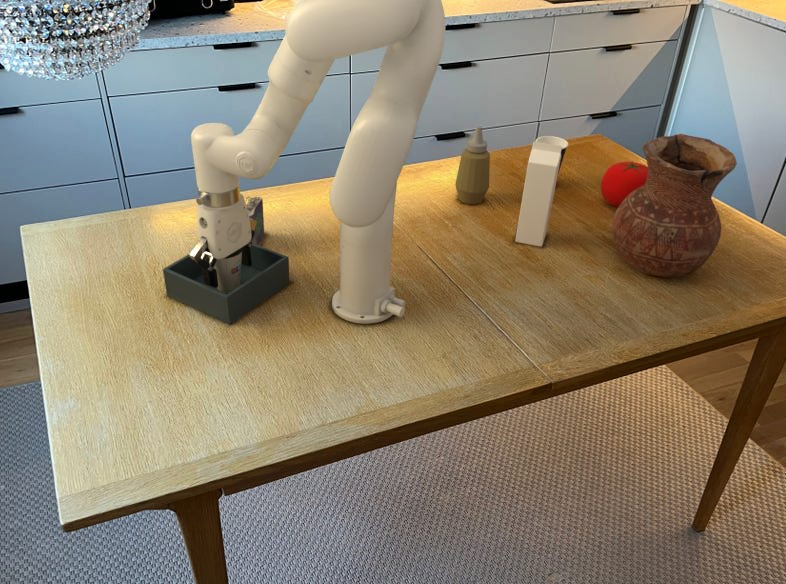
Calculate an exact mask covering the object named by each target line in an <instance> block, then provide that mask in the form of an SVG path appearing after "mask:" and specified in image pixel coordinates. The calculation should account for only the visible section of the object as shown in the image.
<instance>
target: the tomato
mask: <svg viewBox="0 0 786 584" xmlns="http://www.w3.org/2000/svg"><path fill="white" fill-rule="evenodd" d="M647 175H648V165H646V164H643V163H640V162H635V161H633V160H631V161H621V162H620V161H619V162H617V163H614V164H611V166H610V167H608V168H607V169H606V171H605V172H604V174H603V177H602V179H601V183H600V190H601V195H602V197H603V199H604V200H605V201H606V202H607V203H608V204H609V205H611V206H612V207H614V208H617V209H618V207H619V205H620V204H621V203H622V201H623V200H624V199H625V198H626V197H627V196H628V195H629V194H630V193H631V192H633V191H634V190H636V189H637V188H639V187H641V186H643V185H644V184H645V183H646V180H647Z"/></svg>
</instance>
